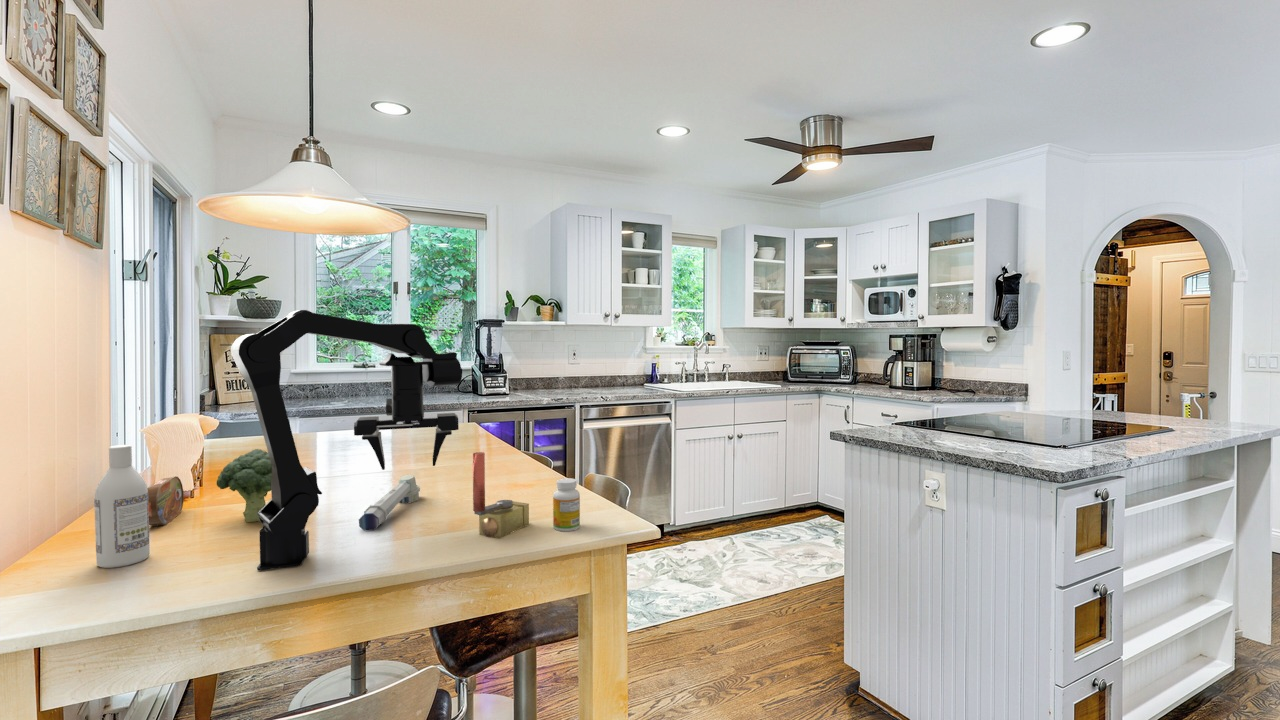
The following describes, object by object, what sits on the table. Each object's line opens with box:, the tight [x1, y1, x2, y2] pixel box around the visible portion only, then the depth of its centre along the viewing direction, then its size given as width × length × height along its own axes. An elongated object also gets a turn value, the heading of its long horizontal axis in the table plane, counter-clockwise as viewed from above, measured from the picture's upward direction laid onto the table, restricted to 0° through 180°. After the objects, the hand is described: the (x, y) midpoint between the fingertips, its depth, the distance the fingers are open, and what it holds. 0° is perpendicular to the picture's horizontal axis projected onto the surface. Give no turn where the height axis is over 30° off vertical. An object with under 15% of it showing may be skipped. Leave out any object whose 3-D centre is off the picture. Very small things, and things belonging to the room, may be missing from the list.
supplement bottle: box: [552, 477, 581, 532], centre depth 121 cm, size 5×5×10 cm
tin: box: [147, 476, 185, 527], centre depth 126 cm, size 15×3×8 cm, turn 22°
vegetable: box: [216, 448, 272, 523], centre depth 125 cm, size 12×13×15 cm
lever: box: [472, 451, 513, 516], centre depth 117 cm, size 9×3×12 cm, turn 146°
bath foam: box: [93, 444, 151, 569], centre depth 102 cm, size 7×7×20 cm
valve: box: [478, 500, 530, 539], centre depth 119 cm, size 10×5×4 cm, turn 155°
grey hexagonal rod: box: [358, 474, 421, 531], centre depth 131 cm, size 5×7×25 cm
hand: (409, 467), depth 117 cm, fingers open, 9 cm apart
